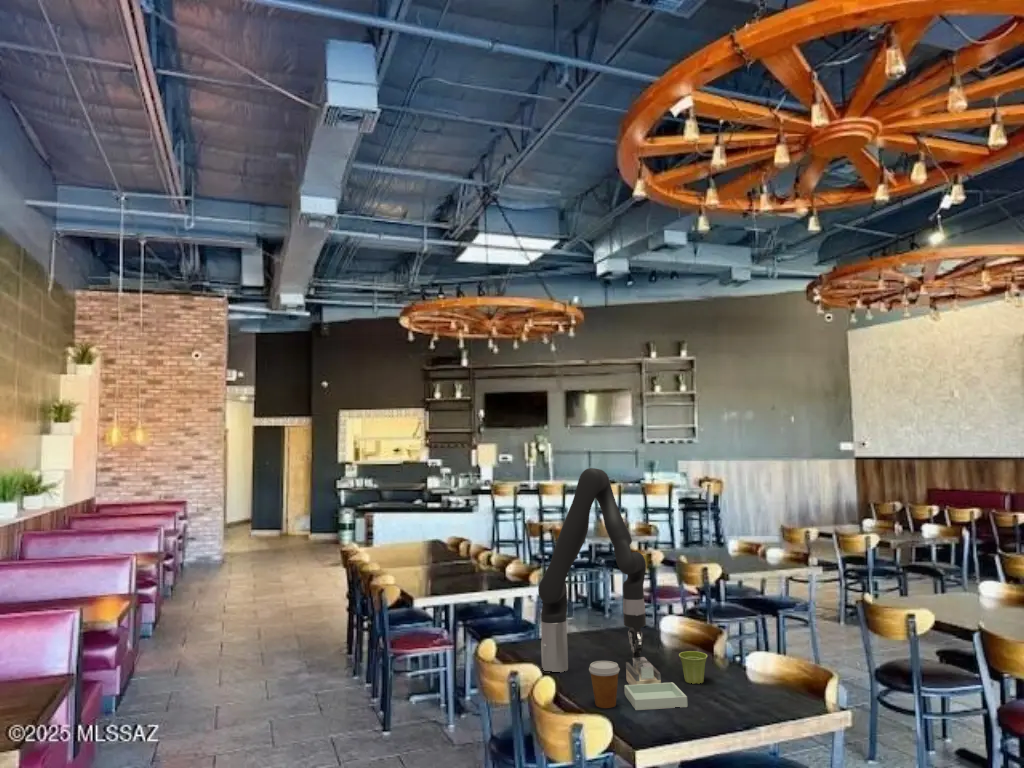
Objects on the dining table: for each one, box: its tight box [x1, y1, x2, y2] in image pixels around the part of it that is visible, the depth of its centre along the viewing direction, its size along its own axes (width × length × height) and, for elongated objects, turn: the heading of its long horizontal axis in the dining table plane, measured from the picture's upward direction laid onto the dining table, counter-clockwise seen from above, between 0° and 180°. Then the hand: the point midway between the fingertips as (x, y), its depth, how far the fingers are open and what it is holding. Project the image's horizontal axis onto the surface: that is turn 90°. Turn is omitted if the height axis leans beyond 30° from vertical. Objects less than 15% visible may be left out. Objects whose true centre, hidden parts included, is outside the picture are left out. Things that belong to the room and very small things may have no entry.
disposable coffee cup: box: [588, 660, 621, 709], centre depth 223 cm, size 10×10×12 cm
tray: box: [623, 682, 688, 711], centre depth 225 cm, size 16×14×3 cm
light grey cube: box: [632, 656, 649, 673], centre depth 242 cm, size 4×4×4 cm
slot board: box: [625, 660, 662, 685], centre depth 239 cm, size 8×14×6 cm, turn 5°
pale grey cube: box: [638, 662, 654, 680], centre depth 235 cm, size 4×4×4 cm
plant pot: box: [678, 650, 708, 685], centre depth 242 cm, size 9×9×9 cm
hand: (636, 663), depth 248 cm, fingers closed
